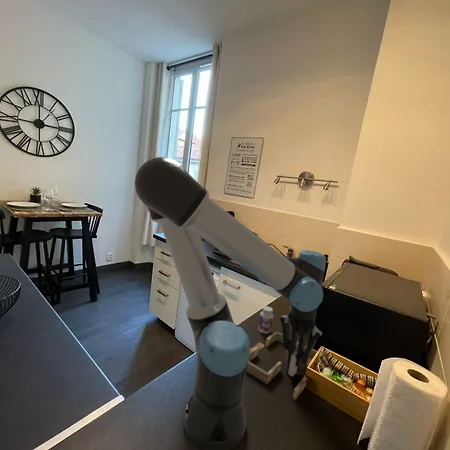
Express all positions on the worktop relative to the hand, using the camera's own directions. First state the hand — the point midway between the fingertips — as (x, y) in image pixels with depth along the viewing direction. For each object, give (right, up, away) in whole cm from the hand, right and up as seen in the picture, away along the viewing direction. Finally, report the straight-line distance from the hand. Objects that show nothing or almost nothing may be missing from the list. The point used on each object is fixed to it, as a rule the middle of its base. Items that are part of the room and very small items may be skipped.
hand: (292, 373), depth 82 cm
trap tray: (-3, 0, +7) cm, 7 cm away
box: (+2, -1, +5) cm, 5 cm away
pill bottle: (-5, +3, +26) cm, 26 cm away
